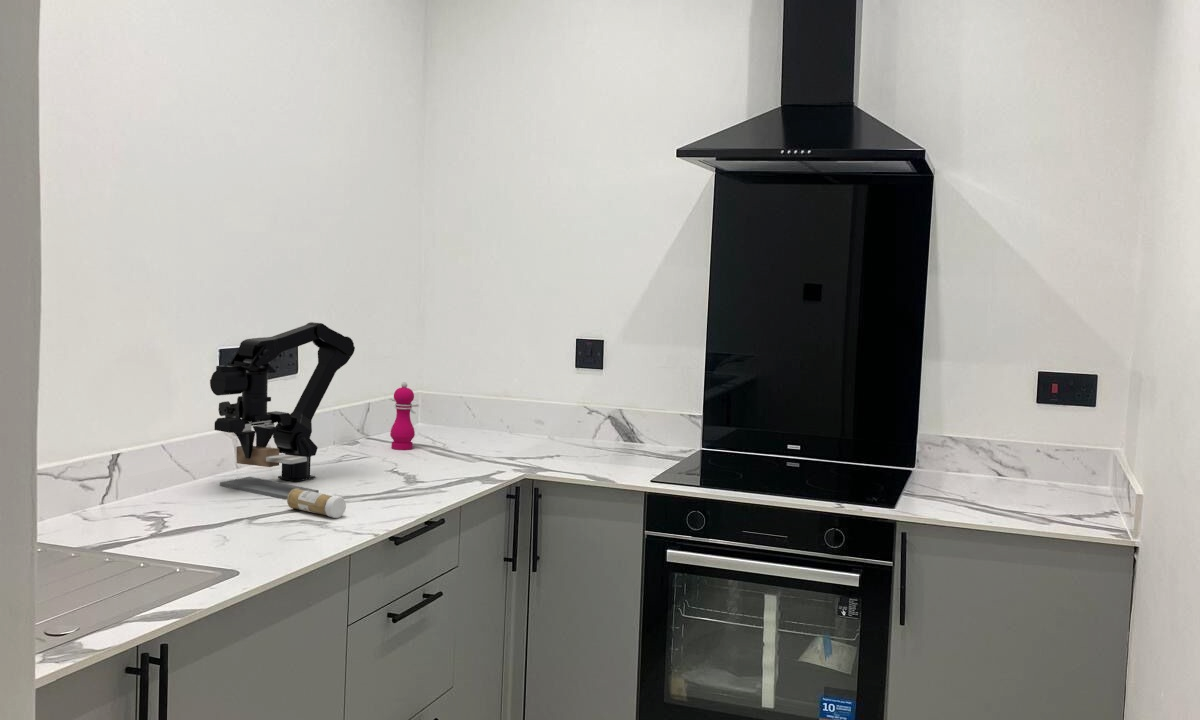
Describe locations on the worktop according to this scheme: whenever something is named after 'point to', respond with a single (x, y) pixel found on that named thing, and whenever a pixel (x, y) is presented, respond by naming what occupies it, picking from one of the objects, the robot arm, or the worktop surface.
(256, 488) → the tool mat
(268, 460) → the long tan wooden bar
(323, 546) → the worktop surface
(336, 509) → the sprinkles bottle
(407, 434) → the pepper mill
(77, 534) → the worktop surface
